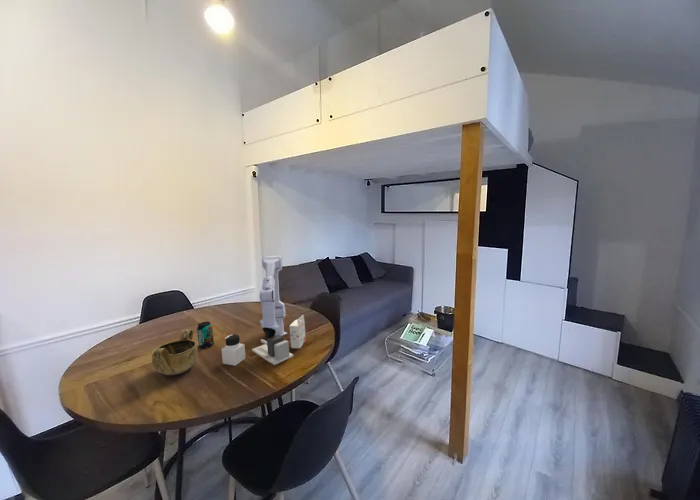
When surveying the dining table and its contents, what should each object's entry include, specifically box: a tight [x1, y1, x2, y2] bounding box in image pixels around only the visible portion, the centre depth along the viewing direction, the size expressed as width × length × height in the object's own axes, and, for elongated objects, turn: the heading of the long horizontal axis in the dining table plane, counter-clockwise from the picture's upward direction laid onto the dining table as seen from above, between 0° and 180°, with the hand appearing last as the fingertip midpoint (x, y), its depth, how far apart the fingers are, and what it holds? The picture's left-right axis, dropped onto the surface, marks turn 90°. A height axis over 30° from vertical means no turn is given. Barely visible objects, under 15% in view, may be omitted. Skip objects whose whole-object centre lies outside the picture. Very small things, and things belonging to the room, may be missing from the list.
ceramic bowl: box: [151, 329, 199, 376], centre depth 123 cm, size 22×17×15 cm
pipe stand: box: [251, 338, 294, 366], centre depth 136 cm, size 20×10×8 cm, turn 46°
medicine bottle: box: [221, 333, 247, 367], centre depth 130 cm, size 7×7×12 cm
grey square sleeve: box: [266, 335, 284, 357], centre depth 133 cm, size 4×6×8 cm, turn 136°
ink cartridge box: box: [289, 314, 307, 349], centre depth 144 cm, size 9×5×15 cm, turn 168°
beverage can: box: [196, 321, 215, 349], centre depth 147 cm, size 7×7×12 cm
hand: (270, 341), depth 136 cm, fingers closed
